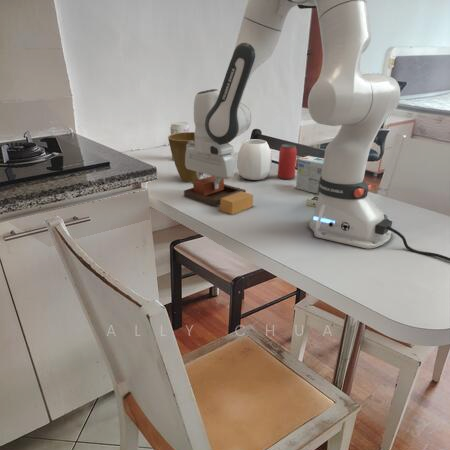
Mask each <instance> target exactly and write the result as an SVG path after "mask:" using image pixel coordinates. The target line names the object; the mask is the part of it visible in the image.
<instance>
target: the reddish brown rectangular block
mask: <svg viewBox="0 0 450 450" xmlns="http://www.w3.org/2000/svg"><path fill="white" fill-rule="evenodd" d="M215 180H216V179H214V176H212V175H209V176H206V177H203V179H200V180H197V181H193V182H192V188H193V190H194V192H197V193H200V194H203V195H209V194H212V193H215V192H218V191H221V190H224V184H225V179H223V178H221V181H220V182H219V188H218V189H213V188H212V183H214V182H215Z"/></svg>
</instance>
